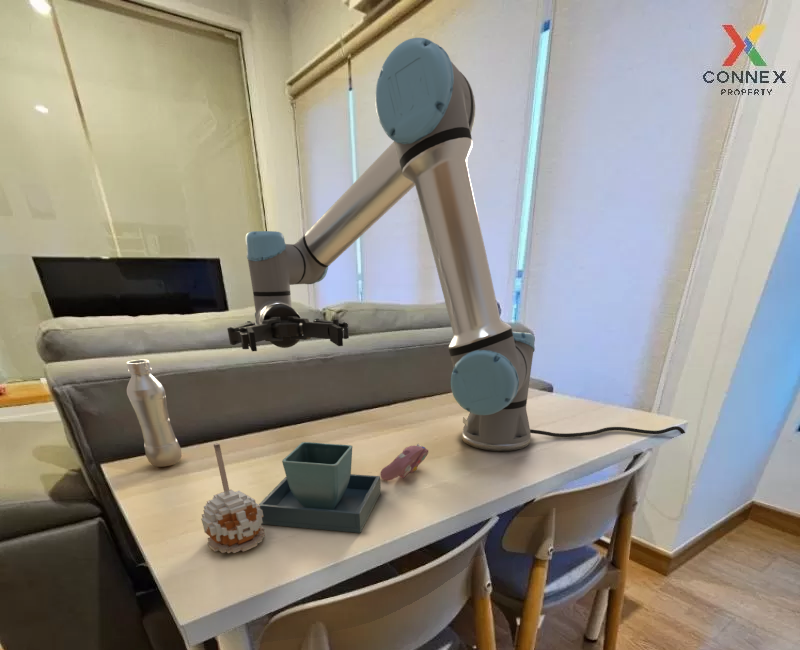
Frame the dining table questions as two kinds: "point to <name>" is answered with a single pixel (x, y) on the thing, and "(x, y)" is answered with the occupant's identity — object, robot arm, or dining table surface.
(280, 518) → the tray
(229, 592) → the dining table surface
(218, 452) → the decorative ornament
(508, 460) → the dining table surface
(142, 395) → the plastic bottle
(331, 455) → the flower pot
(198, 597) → the dining table surface
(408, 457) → the pink elongated piece
